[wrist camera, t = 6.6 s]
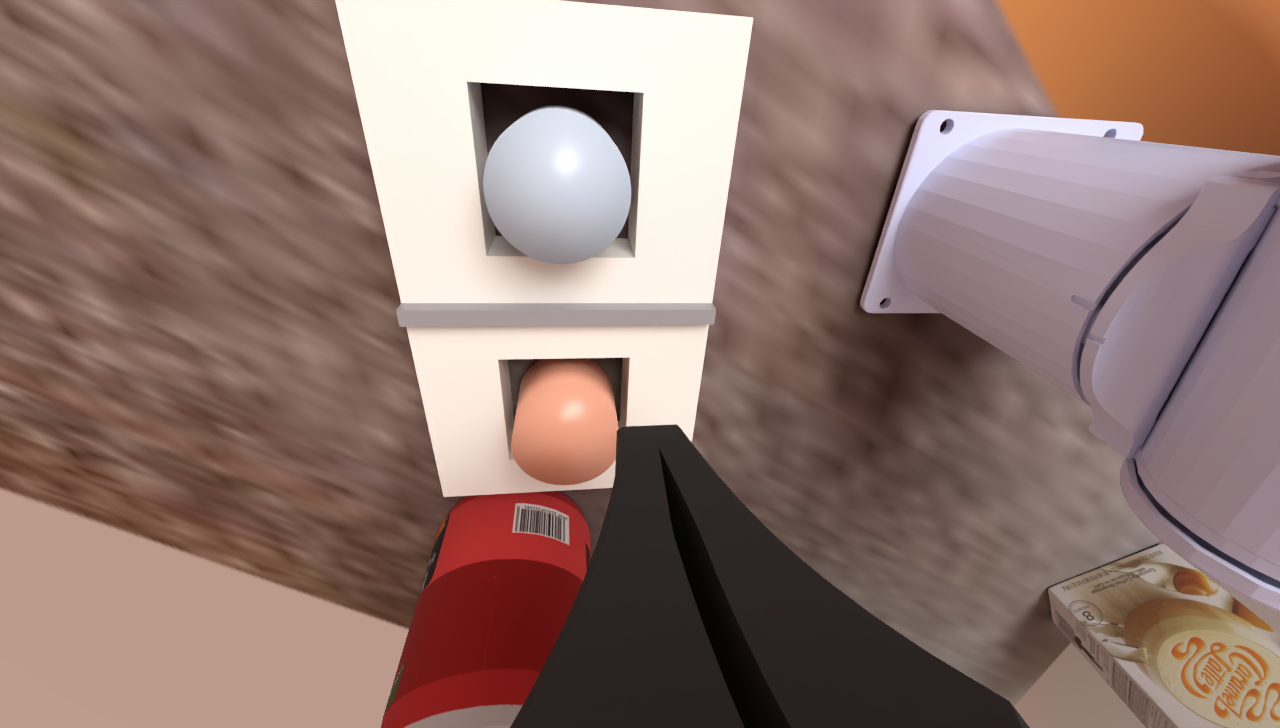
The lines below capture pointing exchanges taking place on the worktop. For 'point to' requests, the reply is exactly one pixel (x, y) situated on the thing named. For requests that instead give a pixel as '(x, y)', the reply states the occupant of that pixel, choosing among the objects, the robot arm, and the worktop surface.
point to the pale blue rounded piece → (557, 185)
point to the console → (494, 269)
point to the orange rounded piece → (565, 421)
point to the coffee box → (1172, 643)
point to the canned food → (489, 610)
